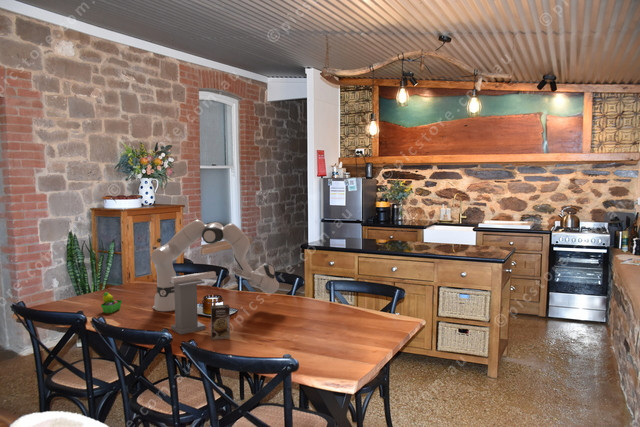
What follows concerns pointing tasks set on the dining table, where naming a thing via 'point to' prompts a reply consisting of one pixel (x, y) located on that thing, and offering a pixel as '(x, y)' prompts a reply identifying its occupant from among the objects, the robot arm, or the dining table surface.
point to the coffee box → (220, 322)
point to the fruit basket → (110, 303)
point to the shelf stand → (186, 307)
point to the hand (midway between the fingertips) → (237, 270)
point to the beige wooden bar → (193, 277)
